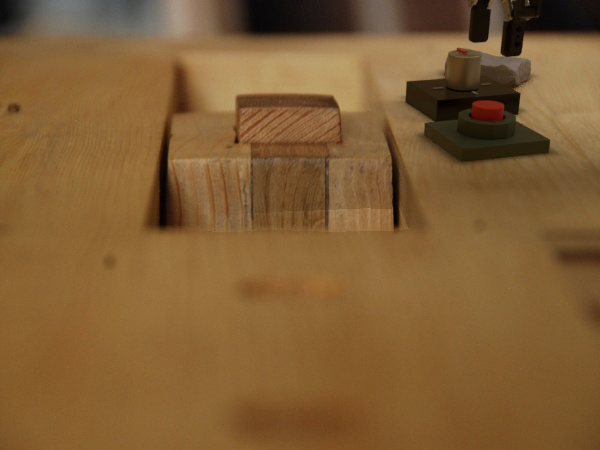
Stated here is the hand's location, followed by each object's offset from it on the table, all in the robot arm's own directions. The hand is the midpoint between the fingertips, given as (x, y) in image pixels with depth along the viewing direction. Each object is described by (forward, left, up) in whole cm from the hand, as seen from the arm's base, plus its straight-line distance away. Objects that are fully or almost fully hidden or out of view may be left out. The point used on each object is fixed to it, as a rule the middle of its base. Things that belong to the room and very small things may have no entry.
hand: (493, 48), depth 91 cm
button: (0, 0, -8) cm, 8 cm away
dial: (-5, -16, -9) cm, 19 cm away
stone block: (-17, -30, -12) cm, 36 cm away
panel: (-5, -16, -12) cm, 20 cm away
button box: (0, 0, -12) cm, 12 cm away
